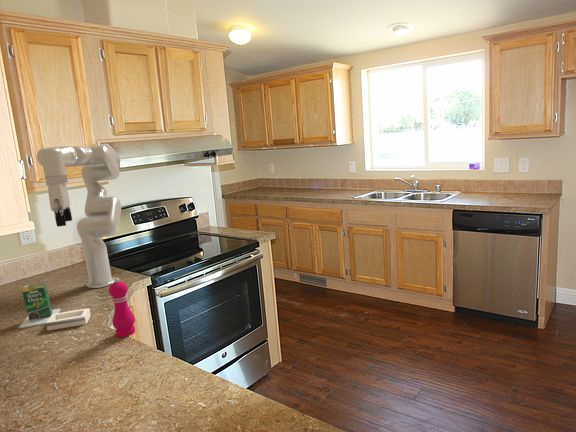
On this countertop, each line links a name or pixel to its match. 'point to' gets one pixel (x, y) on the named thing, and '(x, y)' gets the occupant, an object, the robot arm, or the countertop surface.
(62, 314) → the caddy
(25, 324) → the tile
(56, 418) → the countertop surface
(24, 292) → the coffee box
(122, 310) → the pepper mill
